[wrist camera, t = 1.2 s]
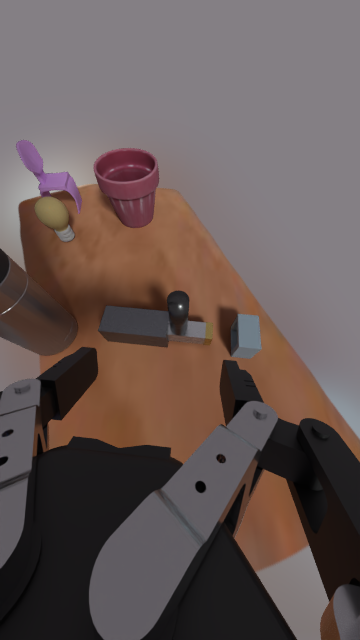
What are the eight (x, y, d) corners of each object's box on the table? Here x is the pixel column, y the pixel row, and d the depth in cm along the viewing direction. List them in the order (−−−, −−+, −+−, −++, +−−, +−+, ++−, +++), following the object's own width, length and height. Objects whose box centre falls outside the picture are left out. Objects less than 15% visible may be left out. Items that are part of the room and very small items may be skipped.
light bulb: (50, 242, 50) (21, 203, 41) (67, 227, 52) (43, 187, 43) (69, 250, 48) (44, 212, 39) (86, 234, 51) (65, 194, 42)
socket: (231, 356, 36) (239, 346, 31) (230, 327, 39) (238, 313, 34) (250, 358, 36) (261, 349, 31) (248, 329, 38) (258, 315, 33)
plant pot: (169, 227, 52) (166, 173, 41) (118, 240, 50) (99, 188, 38) (153, 196, 58) (146, 142, 47) (106, 208, 56) (87, 153, 44)
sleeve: (107, 341, 37) (98, 330, 33) (114, 318, 40) (106, 305, 35) (167, 347, 37) (165, 337, 32) (171, 323, 39) (169, 311, 35)
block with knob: (112, 335, 37) (84, 301, 26) (116, 320, 38) (91, 282, 28) (209, 345, 36) (222, 314, 25) (210, 329, 37) (222, 294, 27)
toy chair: (81, 215, 54) (48, 149, 41) (48, 218, 54) (5, 152, 40) (84, 197, 58) (54, 131, 45) (53, 200, 58) (15, 134, 44)
